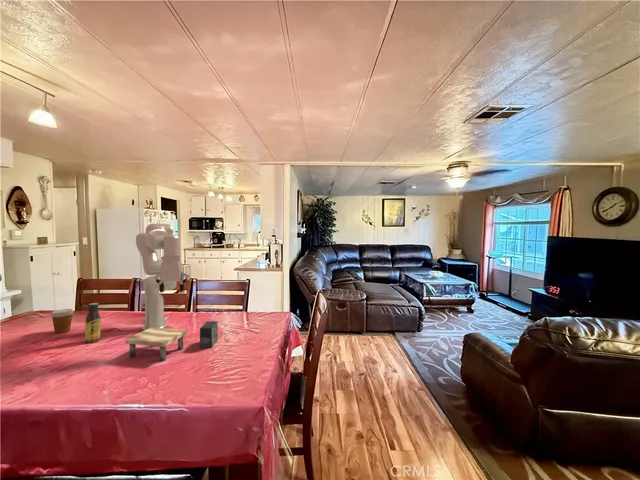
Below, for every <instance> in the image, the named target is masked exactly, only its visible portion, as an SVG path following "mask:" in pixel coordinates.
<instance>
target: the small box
mask: <svg viewBox="0 0 640 480" xmlns="http://www.w3.org/2000/svg"><path fill="white" fill-rule="evenodd" d="M218 330H219V329H218V320H217V321H216V320H211V321H206V322H204V323H203V324H202V326H201V327H199V348H200V349H203V348H204V349H205V348H207V349H209V348H210V349H211V348H213V347H214V346H215V344H216V343H217V342H218V340H219V338H218V337H219V334H218V332H219V331H218Z"/></svg>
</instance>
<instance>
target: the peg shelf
mask: <svg viewBox="0 0 640 480" xmlns="http://www.w3.org/2000/svg"><path fill="white" fill-rule="evenodd" d="M187 334H188V330H187V329H176V328H168V327H167V328H166V327H165V328H156V327H151V328H149V329H147V330H145V331H144V330H142V331H140V332H138V333H136V334H134V335H132V336H129V337H127V338H124V344H127V345H128V344H129V352H128V354H129V359H133V358H135V357H136V356H137V355H136V354H137V353H136V352H137V348H136V347H137V346H136V345H139V346H148V347H150V348H154V347H158V348H159V362H165V361H166V360H167V359H166V358H167V354H166V353H167V346H168V345H170V344H172V343H173V342H175V341H177V350H178V351H182V350H184V337H185V336H187Z"/></svg>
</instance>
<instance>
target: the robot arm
mask: <svg viewBox="0 0 640 480" xmlns="http://www.w3.org/2000/svg"><path fill="white" fill-rule="evenodd" d="M180 241H181V240H180V236H178V235H174V228H173V226H172V225H171V224H168V223H149V224H148V225H147V226H146V227H145V232H141V233H138V234H137V235H136V236H135V246H136V248H137V250H138V252H139V253H140V256H141V260H142V261H141V262H142V266H143V271H144V274H145V275H147V277H146V278H144V279H143V283H142V284H143V290H144V300H145V301H144V303H145V305H144V306H145V307H144V309H145V311H144V313H145V314H144V318H145V319H144V320H145V321H144V325H142V326H141V330H142V331H145V330H147V329H149V328H151V327H156V328H166V327H167V323H166V322H167V321H168V320H169V316H166V317H164V310H165V309H164V304H165V303H164V302H165V301H164V300H165V299H164V296H163V295H162V294H161V293H164V292H165V291H170V290H174V289H175V288H176V287H177V284H178V283H180V284H179V292H180V293H183V292H184V291H185V283H186V282H188V281H189V278H190V275H189V274H187V273H185V272H184V270H183V263H182V261H181V257H180V256H181V255H180V254H181V248H180V247H181V242H180ZM156 250H163V252H162V253H163V256H160V259H159V256H158V255H159V254H158V253H157V251H156ZM177 282H178V283H177Z"/></svg>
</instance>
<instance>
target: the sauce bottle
mask: <svg viewBox="0 0 640 480" xmlns="http://www.w3.org/2000/svg"><path fill="white" fill-rule="evenodd" d="M99 305H100V303H98V302H94V303H93V302H92V303H89V304H88V314H87V315H86V317H85V324H84V325H85V327H84V329H85V330H84V340H85V341H84V342H85V343H87V344H91V343H96V342H99V341H100V340H101V326H102V325H101V324H102V322H101V321H102V319H101V315H100V312H99Z"/></svg>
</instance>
